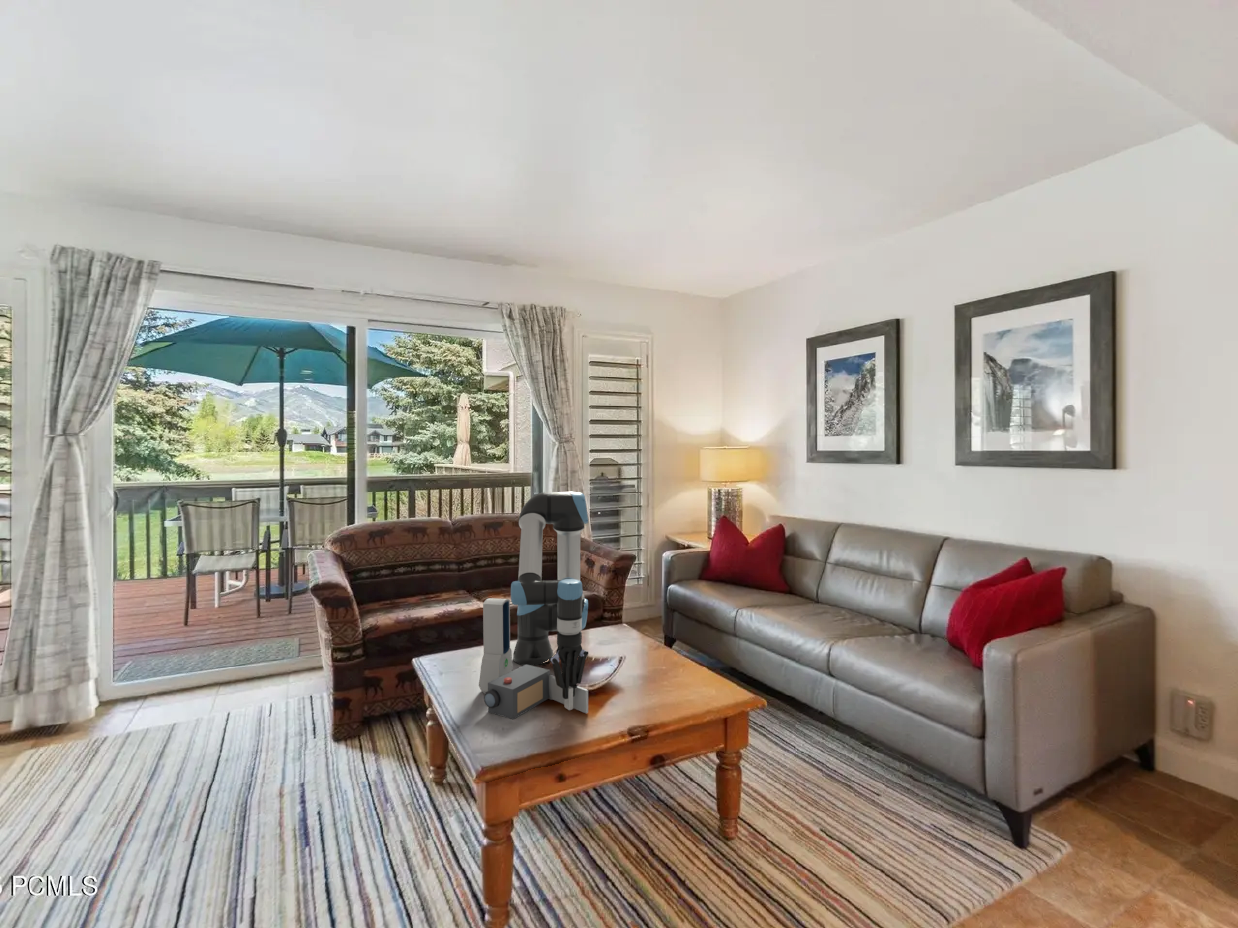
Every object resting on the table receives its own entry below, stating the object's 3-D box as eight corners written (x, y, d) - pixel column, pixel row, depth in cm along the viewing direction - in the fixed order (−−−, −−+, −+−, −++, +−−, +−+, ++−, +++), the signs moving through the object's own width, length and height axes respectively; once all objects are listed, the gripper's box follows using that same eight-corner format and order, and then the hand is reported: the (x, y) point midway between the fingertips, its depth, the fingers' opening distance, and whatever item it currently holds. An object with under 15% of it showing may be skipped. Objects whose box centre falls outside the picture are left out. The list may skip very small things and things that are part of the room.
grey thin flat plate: (548, 698, 195) (548, 675, 195) (552, 696, 197) (552, 674, 197) (585, 714, 184) (585, 690, 184) (589, 712, 185) (589, 688, 185)
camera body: (526, 690, 202) (525, 661, 201) (550, 697, 196) (550, 667, 196) (483, 713, 185) (483, 681, 184) (509, 721, 180) (508, 688, 179)
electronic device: (499, 696, 198) (498, 604, 197) (478, 694, 199) (476, 603, 198) (513, 681, 210) (512, 595, 209) (493, 679, 211) (492, 594, 210)
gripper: (557, 638, 178) (556, 717, 178) (593, 630, 185) (592, 707, 186) (544, 631, 184) (543, 708, 184) (580, 624, 191) (579, 698, 192)
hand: (568, 707), depth 185 cm, fingers closed
